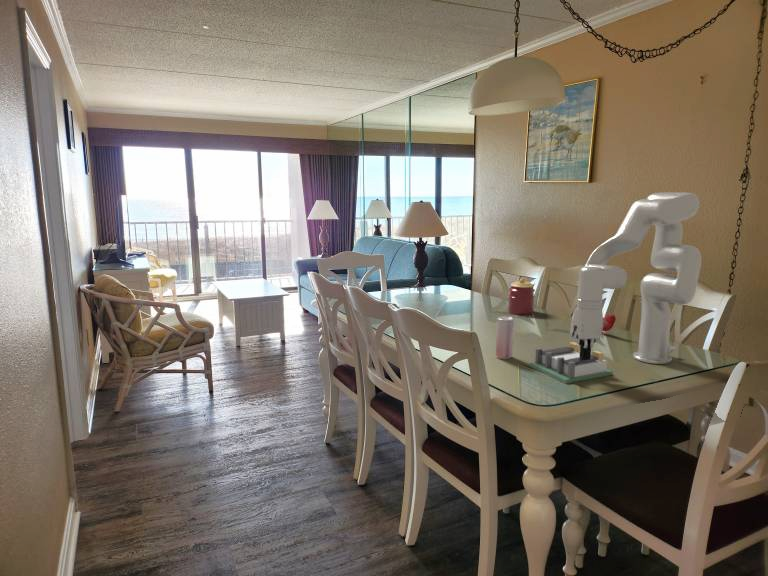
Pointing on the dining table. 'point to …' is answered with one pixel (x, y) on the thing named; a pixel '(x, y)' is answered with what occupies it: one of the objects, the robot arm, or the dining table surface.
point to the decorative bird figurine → (608, 322)
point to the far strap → (558, 350)
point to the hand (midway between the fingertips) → (584, 358)
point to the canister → (521, 298)
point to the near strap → (580, 360)
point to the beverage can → (504, 337)
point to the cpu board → (570, 365)
